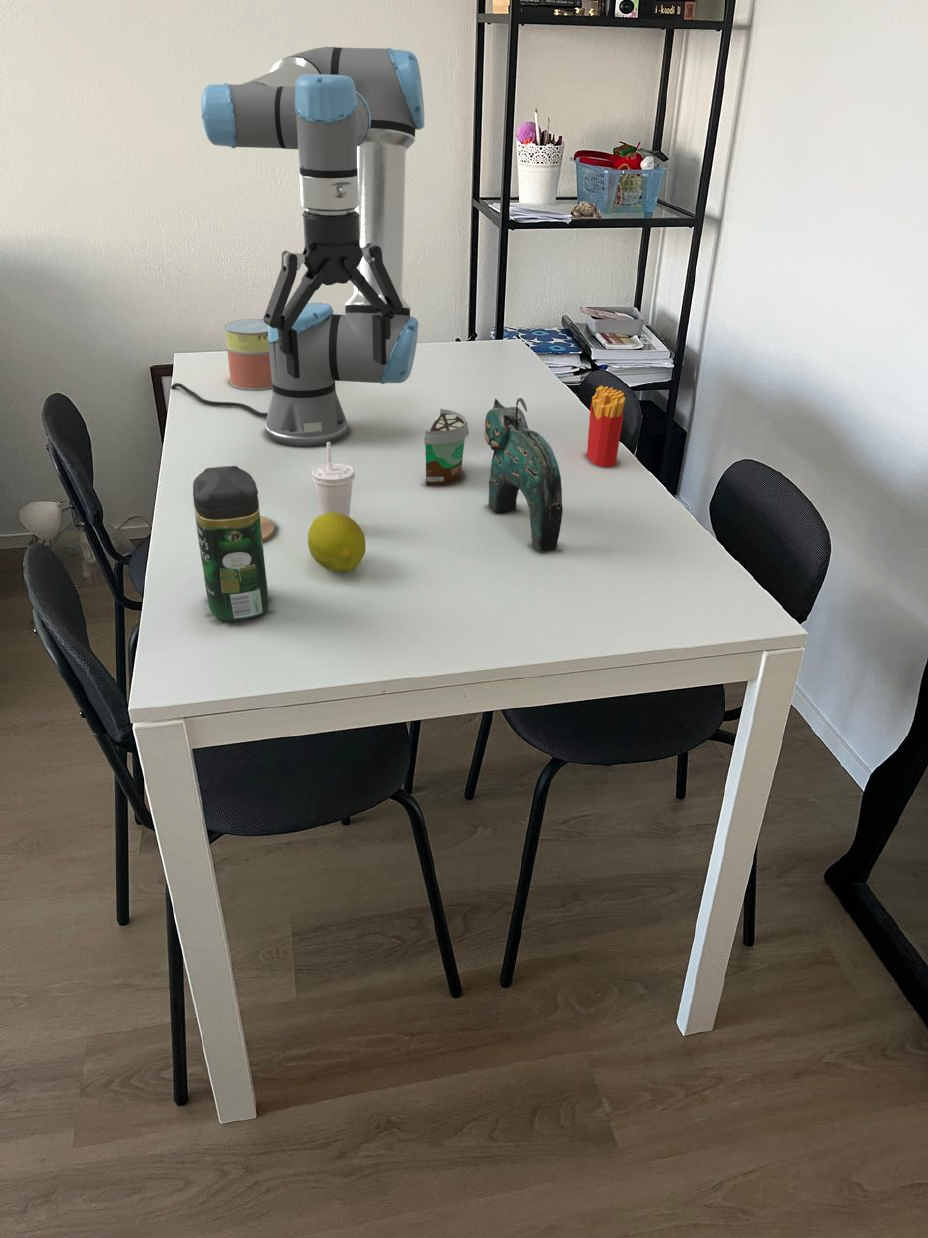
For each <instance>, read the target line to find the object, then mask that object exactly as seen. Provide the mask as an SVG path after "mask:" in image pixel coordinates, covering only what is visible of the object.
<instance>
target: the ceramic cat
mask: <svg viewBox="0 0 928 1238" xmlns="http://www.w3.org/2000/svg"><path fill="white" fill-rule="evenodd" d="M493 403H494V404H493V406H492V408H491V409H490V410H489V411H487V413H486V416H485V420H484V421H485V423H484V424H485V425H484V439H485V442H486V443H487V445H488V446H489V447H490V449H491V451H493V454H492V458H491V464H490V473H489V479H488V507H489V508H490V509H491V511H493V512H494V513H496V514H506V513H507V514H508V513H512V512H516V510H517V502H518V501H517V499H518V495H519V490H520V491H521V493H522V495H523V497H524V498H525V500H526V504H527V507H528V511H529V520H530V533H531V545H532V547H533V549H534V550H536V551H538V552H540V553H545V552H549V551H555V550H557V547H558V543H559V536H560V533H561V525H562V519H563V510H564V509H563V490H562V489H563V488H562V477H561V473H560V467H559V463H558V461H557V457H556V455H555V453H554V451H553V448H552V447H551V445H550V444H549V442H548V441H547V440H546V439H545V437H543V435H542V434H540V433H539V432H537V431H535V430H530V428H529V427H528V422H527V419H526V417H525V413H524V412H523V411H522V409H520V407H519V403H521V406H522V408H523V409H524V411H525V412H527V411H528V407H527V405H526V401H524V399H523V398H522V397H518V398H517V400H516V403H515V405H516V406H509V407H506V406H504V405H502V403H501V402H500V401H499V400H498V399H497V398H495V399H494V401H493Z"/></svg>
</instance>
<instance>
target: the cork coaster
mask: <svg viewBox="0 0 928 1238" xmlns="http://www.w3.org/2000/svg"><path fill="white" fill-rule="evenodd" d="M260 522H261V532H262V542H263V543H264V542H265V541H267V540H269V539H270V538H271V537H273V535H274V533H275V530H276V529H275V524H274V522H273V521H272V520H271V519H270V518H268V517H265V516H262V515H260Z"/></svg>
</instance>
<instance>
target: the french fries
mask: <svg viewBox="0 0 928 1238" xmlns="http://www.w3.org/2000/svg"><path fill="white" fill-rule="evenodd" d="M625 403H626V397H625V393H624V392H622V390H621V389H620V390H617V389H614V387H610V388H609V386H603V385H600V386H598V387H597V388H596V390H595V393H594V395H593V396H592V397H591V403H590V405H589V406H590V408H589V422H588V434H587V448H586V457H587V458H588V459H589V460H590V462H592V464H593V465H595V466H598V467H601V468H612V467H614V466H615V465H616V464H617V460H618V452H619V446H620V439H621V434H622V427H623V421H624V415H625V414H624V412H623V410H624V407H625Z"/></svg>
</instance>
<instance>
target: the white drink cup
mask: <svg viewBox="0 0 928 1238" xmlns="http://www.w3.org/2000/svg"><path fill="white" fill-rule="evenodd" d="M331 445H332V443H330V442H327V444H326V459H327V463H323V464H319V465H317V466H315V467H314V468H313V469H312V470H311V479H312V481H314V487H315V491H316V496H317V501H318V507H319V512H320V516H321V515H323V514H325V513H329V512H337V513H341V514H344V515H346V516H348V517H350V513H351V512H350V511H351V501H352V492H353V481H354V480H355V478H356V473H355V468H353V466H351V465H348V464H345V463H339V462H332V448H331Z"/></svg>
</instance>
